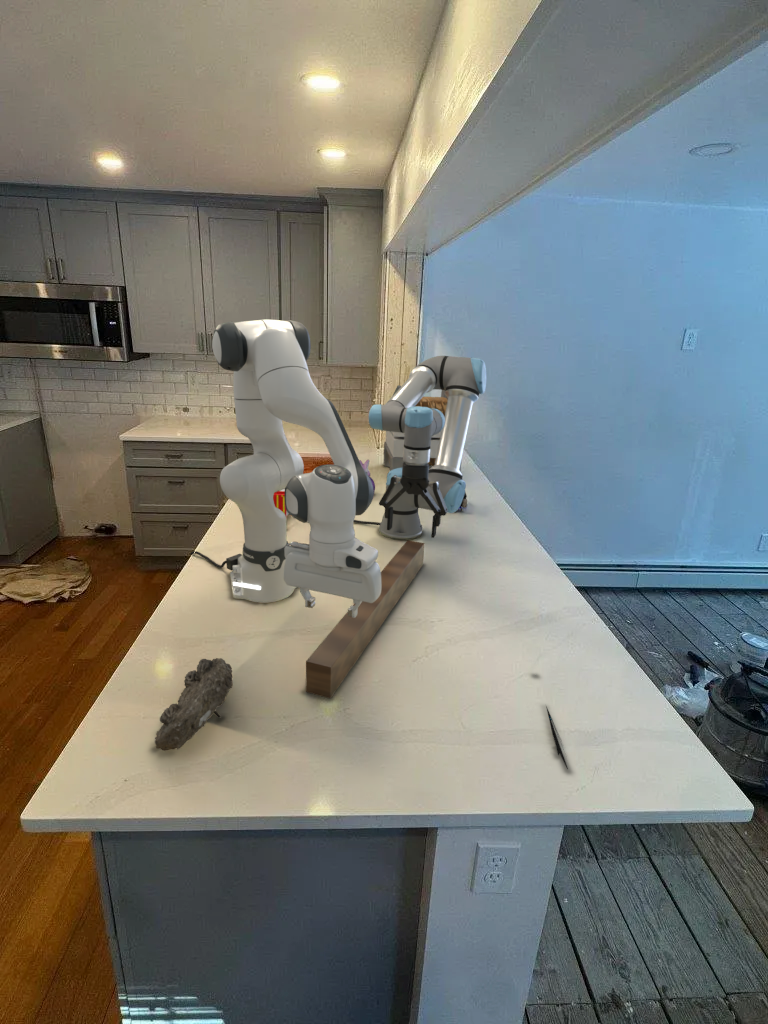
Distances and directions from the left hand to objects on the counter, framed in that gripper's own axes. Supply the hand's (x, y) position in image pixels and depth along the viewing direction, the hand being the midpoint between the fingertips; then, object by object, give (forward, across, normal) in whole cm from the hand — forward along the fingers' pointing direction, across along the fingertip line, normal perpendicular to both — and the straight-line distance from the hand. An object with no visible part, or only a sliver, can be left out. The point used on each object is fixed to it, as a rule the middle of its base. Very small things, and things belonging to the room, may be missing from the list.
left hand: (331, 611), depth 115 cm
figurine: (+16, -39, +120) cm, 127 cm away
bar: (+16, 0, +29) cm, 33 cm away
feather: (+16, +45, +5) cm, 48 cm away
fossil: (+16, -18, -20) cm, 31 cm away
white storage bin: (+16, -27, +164) cm, 167 cm away
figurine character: (+16, 0, +122) cm, 123 cm away
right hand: (+4, 0, +57) cm, 57 cm away
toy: (+16, -58, +82) cm, 102 cm away
